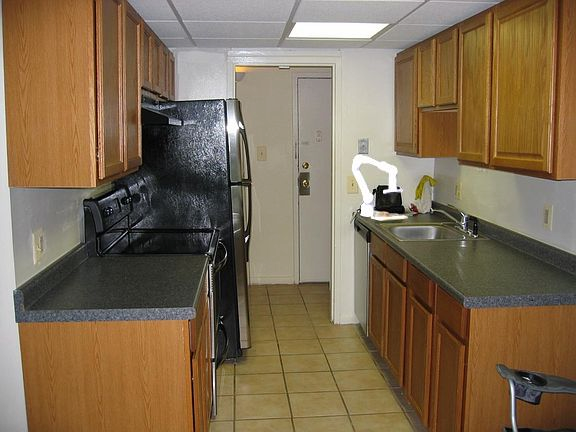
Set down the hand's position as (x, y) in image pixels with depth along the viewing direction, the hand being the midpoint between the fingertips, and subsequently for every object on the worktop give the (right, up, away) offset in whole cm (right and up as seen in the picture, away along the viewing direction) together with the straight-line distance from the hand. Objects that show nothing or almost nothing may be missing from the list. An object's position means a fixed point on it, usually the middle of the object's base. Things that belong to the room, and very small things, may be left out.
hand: (392, 202), depth 447 cm
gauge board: (-4, -11, -9) cm, 15 cm away
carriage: (-6, -10, -11) cm, 16 cm away
